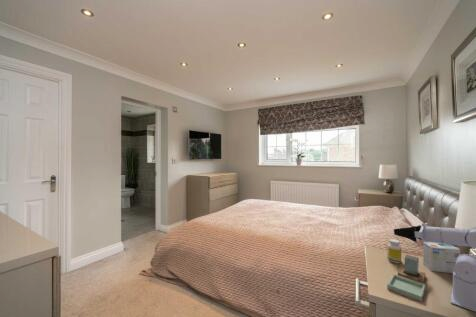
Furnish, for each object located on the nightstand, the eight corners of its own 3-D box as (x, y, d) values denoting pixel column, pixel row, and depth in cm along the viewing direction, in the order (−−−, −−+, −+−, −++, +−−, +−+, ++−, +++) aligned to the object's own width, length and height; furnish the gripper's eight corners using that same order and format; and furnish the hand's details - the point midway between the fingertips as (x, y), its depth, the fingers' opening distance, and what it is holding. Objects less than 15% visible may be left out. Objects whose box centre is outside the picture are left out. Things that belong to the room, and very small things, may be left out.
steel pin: (418, 276, 90) (418, 257, 90) (416, 280, 87) (417, 261, 87) (406, 272, 93) (406, 254, 93) (404, 276, 90) (404, 257, 90)
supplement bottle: (403, 264, 100) (403, 243, 100) (390, 263, 101) (390, 242, 101) (397, 258, 105) (397, 238, 105) (385, 257, 106) (385, 238, 106)
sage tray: (425, 289, 81) (425, 284, 81) (421, 301, 75) (421, 296, 75) (393, 278, 89) (393, 274, 89) (387, 288, 82) (387, 284, 82)
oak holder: (425, 276, 90) (425, 273, 90) (422, 284, 84) (422, 280, 84) (401, 269, 96) (401, 265, 96) (397, 276, 90) (397, 272, 90)
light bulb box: (449, 266, 98) (449, 242, 98) (461, 274, 91) (461, 249, 91) (422, 263, 100) (422, 241, 100) (431, 271, 94) (431, 247, 94)
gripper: (443, 223, 83) (401, 220, 94) (435, 224, 75) (390, 221, 85) (446, 242, 82) (403, 237, 92) (439, 246, 73) (392, 240, 83)
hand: (397, 231), depth 88 cm, fingers open, 7 cm apart
